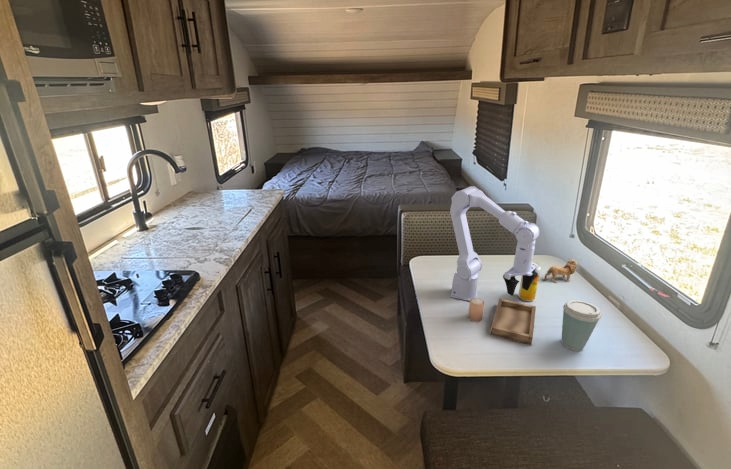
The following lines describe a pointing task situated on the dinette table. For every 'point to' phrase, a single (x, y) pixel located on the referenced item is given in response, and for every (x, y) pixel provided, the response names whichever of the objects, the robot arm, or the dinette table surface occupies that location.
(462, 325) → the dinette table surface
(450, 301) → the dinette table surface
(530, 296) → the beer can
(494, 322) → the tray
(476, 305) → the tan and white cylinder
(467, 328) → the dinette table surface
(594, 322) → the disposable coffee cup
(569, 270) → the lion figurine
